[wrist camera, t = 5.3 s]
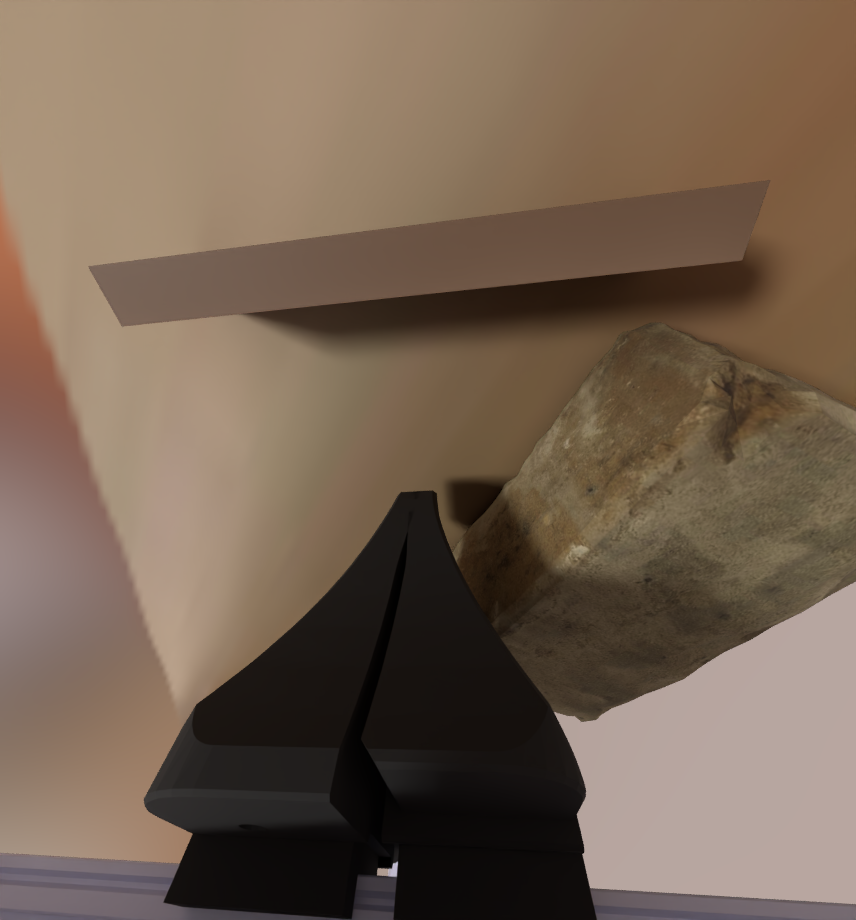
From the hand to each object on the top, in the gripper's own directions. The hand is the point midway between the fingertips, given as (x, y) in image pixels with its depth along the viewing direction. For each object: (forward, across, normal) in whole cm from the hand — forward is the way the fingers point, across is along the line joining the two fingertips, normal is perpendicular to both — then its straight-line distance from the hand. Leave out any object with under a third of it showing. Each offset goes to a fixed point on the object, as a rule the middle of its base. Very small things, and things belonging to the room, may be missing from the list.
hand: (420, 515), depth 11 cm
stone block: (+2, -5, +1) cm, 6 cm away
